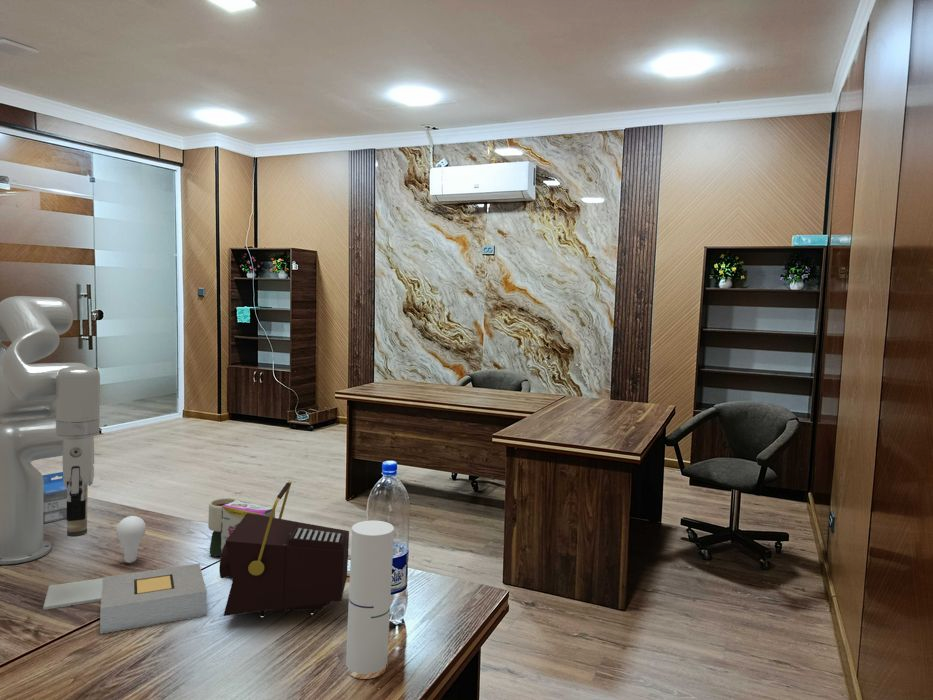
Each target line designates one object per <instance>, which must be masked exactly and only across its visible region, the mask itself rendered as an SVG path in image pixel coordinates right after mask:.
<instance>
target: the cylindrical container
mask: <svg viewBox="0 0 933 700" xmlns="http://www.w3.org/2000/svg"><path fill="white" fill-rule="evenodd" d="M394 527H395V526H394V525H393V524H391V523H390V522H386V521H382V520H363V521H359V522H356V523H355V524H353V525H352V526H351V543H350V545H351V546H350V563H349V564H350V565H349V566H350V567H349V585H348V587H349V588H348V609H347V613H348V615H347V629H346V630H347V631H346V633H347V634H346V655H345V657H346V658H345V667H346V666H347V667H348V669H349V670H351V671H353V672H356V673H359V674H370V673H375V672H378V671H380V670H382V669H383V668H384V667H385V666H386V664H387V665H388V657H389V655H388V654H389V637H390V636H389V634H390V633H389V632H390V617H391V616H390V614H391V613H390V612H391V596H392V594H391V593H392V579H393V578H392V574H393V559H394V558H393V555H394V554H393V553H394V535H395V533H394V532H395V528H394Z"/></svg>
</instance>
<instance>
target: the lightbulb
mask: <svg viewBox="0 0 933 700" xmlns="http://www.w3.org/2000/svg"><path fill="white" fill-rule="evenodd" d="M146 530H147V525H146V522H145V521H144V519H142V517H139V516H136V515H130V516H126V517H124V518H122V519H121V520H120V521H119V522H118V524H117V526H116V529H115V535H116V537H117V540H119V542H120V543H121V546H122V553H123V559H124V562H125V563H128V564H133V563H134V562H135V561H137V559H138V557H137V556H138V552H139V546H140V543H141V541H142V539H143V537H144V535H145V533H146Z"/></svg>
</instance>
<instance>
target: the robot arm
mask: <svg viewBox="0 0 933 700" xmlns="http://www.w3.org/2000/svg"><path fill="white" fill-rule="evenodd" d="M73 322H74V315H73V309H72V308H71V306H70V305H69V303H68V302H67V301H66V300H65V299H62V298H59V297H55V296H54V297H52V296H34V295H33V296H28V295H15V296H10V297H6V298H5V299H3V300H1V301H0V420H1V419H2V420H12V421H7V422H4V423H0V565H2V566H3V565H4V566H5V565H15V564H21V563H23V564H24V563H26V562H31V561H35V560H37V559H39V558H41V557H44V556H46V555H48V554H49V552H50V551H51V550H52V544H51V543H50V541H47V540H44V523H43V500H44V480H43V476H42V475H43V474H42V472H41V471H40V470H38V469H37V467H35V466H33V463H32V462H33V461H38V460H42V459H50V458H56V457H62V472H63V482H64V486H65V487H66V488H67V487H68V501H67V518H66V522H67V521H76V520H84V519H85V517H86V499H85V500H84V487H85V485H88V487H91V486H92V485H93V483H94V478H95V438H94V437H97V436H100V415H101V414H100V409H101V400H100V399H101V394H100V393H101V373H100V371H99V370H98V369H96V368H94V367H90V366H88V365H86V364H84V363H83V362H61V363H60V362H49V363H48V362H47V363H46V362H44V363H43V362H42V363H35V362H37V361H40V360H42V359H45V358H46V357H48V356H51V354H52V353H55V351H56V350H57V349H58V347H59V345H60V336H61V335H64V334H65V333H67V332H68V331H69V330H70V329H71V327H72V325H73ZM3 342H10V345H9V346H7V345H6V344H4V343H3ZM37 417H42V418H37ZM26 418H31V419H26ZM13 419H16V420H13ZM17 419H20V420H17ZM79 482H82V485H79ZM71 483H72V486H71ZM79 489H81V490H79Z"/></svg>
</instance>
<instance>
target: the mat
mask: <svg viewBox="0 0 933 700" xmlns="http://www.w3.org/2000/svg"><path fill="white" fill-rule="evenodd" d="M102 584H103V577H102V578H95V579H87V580H86V579H85V580H80V581H73V582H66V583H59V584H50V585H48V588H47V589H48V590H47V592H46V596H45V600H44V604H43V607H42V609H43V611H44V610H45V611H47V610H52V609H58V608H59V607H60V608H65V607H71V605H73V606H78V605H84V604H85V605H86V604H91V603H98V602H101V596H102ZM60 608H59V609H60Z"/></svg>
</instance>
